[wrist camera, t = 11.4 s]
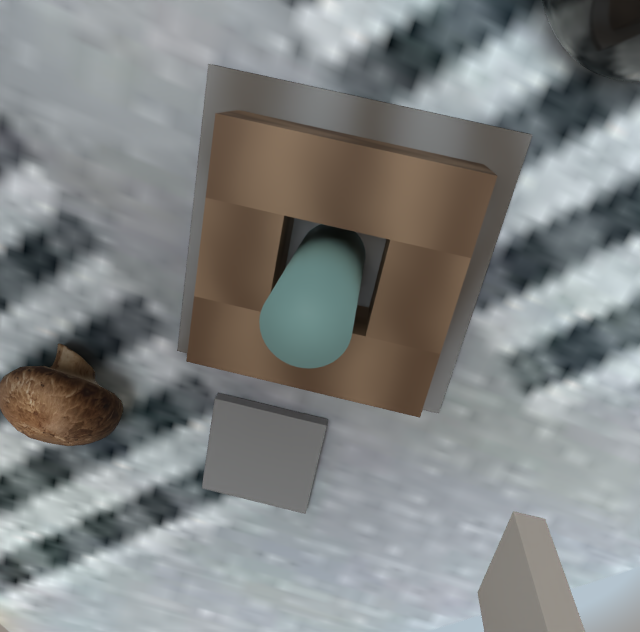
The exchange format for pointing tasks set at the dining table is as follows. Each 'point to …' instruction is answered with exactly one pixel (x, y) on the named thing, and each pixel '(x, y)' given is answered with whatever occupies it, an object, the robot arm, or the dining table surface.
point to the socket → (346, 213)
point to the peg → (315, 299)
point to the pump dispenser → (599, 34)
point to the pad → (263, 452)
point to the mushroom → (60, 401)
